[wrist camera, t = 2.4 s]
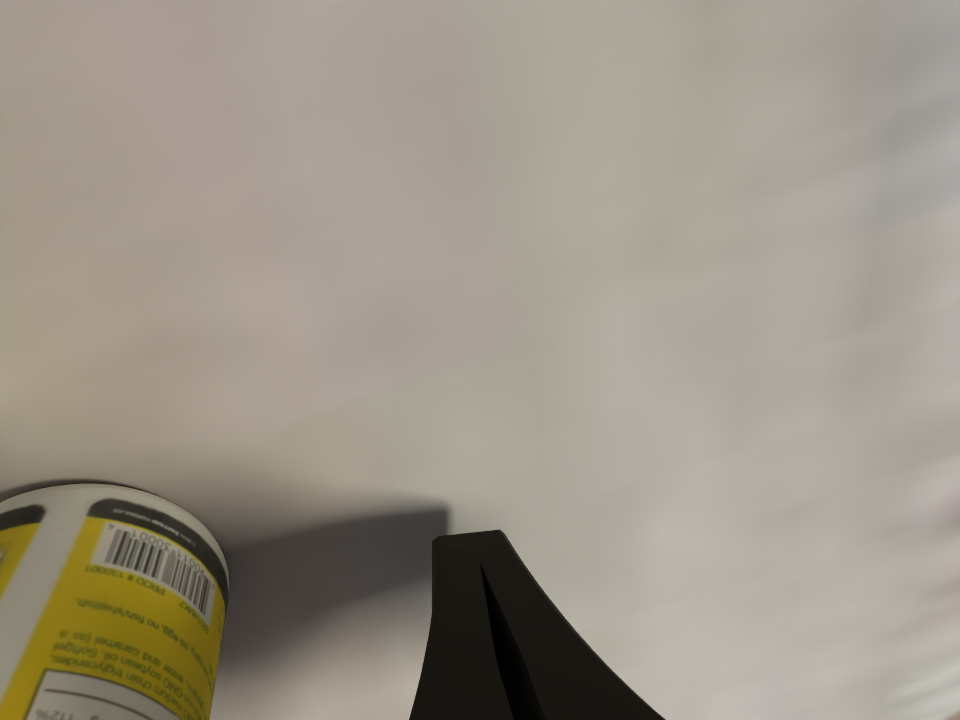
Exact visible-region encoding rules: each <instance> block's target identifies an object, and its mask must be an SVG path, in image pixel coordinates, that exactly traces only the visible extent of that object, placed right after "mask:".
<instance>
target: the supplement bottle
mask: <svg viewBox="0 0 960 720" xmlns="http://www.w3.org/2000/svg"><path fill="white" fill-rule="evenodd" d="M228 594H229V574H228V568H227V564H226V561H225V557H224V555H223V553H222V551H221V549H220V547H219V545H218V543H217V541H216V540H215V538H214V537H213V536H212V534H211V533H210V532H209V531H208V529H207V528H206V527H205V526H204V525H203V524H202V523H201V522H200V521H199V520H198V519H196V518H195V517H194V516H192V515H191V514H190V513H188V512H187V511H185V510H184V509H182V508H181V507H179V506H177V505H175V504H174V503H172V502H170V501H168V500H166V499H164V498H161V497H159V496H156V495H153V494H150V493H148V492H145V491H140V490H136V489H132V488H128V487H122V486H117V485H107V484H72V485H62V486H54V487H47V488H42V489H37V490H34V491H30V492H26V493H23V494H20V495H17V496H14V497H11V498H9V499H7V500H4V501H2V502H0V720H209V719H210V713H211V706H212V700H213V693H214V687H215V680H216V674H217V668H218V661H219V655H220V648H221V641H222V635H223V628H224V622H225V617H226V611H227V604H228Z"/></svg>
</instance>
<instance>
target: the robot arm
mask: <svg viewBox="0 0 960 720" xmlns="http://www.w3.org/2000/svg"><path fill="white" fill-rule="evenodd" d="M409 720H665V719H664V718H663V717H662V716H660V715H659V714H658V713H657V712H656V711H655V710H653V709H652V708H651V707H650V706H649V705H648V704H647V703H646V702H645V701H644V700H643V699H641V698H640V697H639V696H638V695H637V694H636V693H635V692H634V691H633V690H632V689H631V688H630V687H629V686H628V685H627V684H625V683H624V682H623V681H622V680H621V679H620V678H619V677H618V676H617V675H616V674H615V673H614V672H613V671H612V670H611V669H610V668H609V667H608V666H607V665H606V664H605V663H604V661H603V660H602V659H601V658H600V657H599V656H598V655H597V654H596V653H595V652H594V651H593V650H592V649H591V647H590V646H589V645H588V644H587V643H586V642H585V641H584V640H583V638H582V637H581V636H580V635H579V634H578V633H577V632H576V631H575V629H574V628H573V627H572V626H571V625H570V623H569V622H568V621H567V620H566V619H565V617H564V616H563V615H562V614H561V612H560V611H559V610H558V609H557V607H556V606H555V605H554V604H553V602H552V601H551V600H550V599H549V597H548V596H547V595H546V594H545V592H544V591H543V590H542V588H541V587H540V586H539V584H538V583H537V581H536V580H535V579H534V577H533V576H532V574H531V573H530V572H529V570H528V569H527V567H526V566H525V565H524V563H523V562H522V560H521V559H520V557H519V556H518V554H517V553H516V551H515V550H514V548H513V546H512V545H511V543H510V542H509V540H508V538H507V537H506V535H505V534H504V533H503V532H502V531H501V530H492V531H483V532H474V533H465V534H456V535H447V536H438V537H437V538H436V539H435V540H433V541H432V617H431V625H430V631H429V637H428V642H427V647H426V652H425V657H424V662H423V667H422V672H421V676H420V680H419V685H418V689H417V693H416V696H415V700H414V704H413V708H412V711H411V715H410V718H409Z"/></svg>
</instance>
